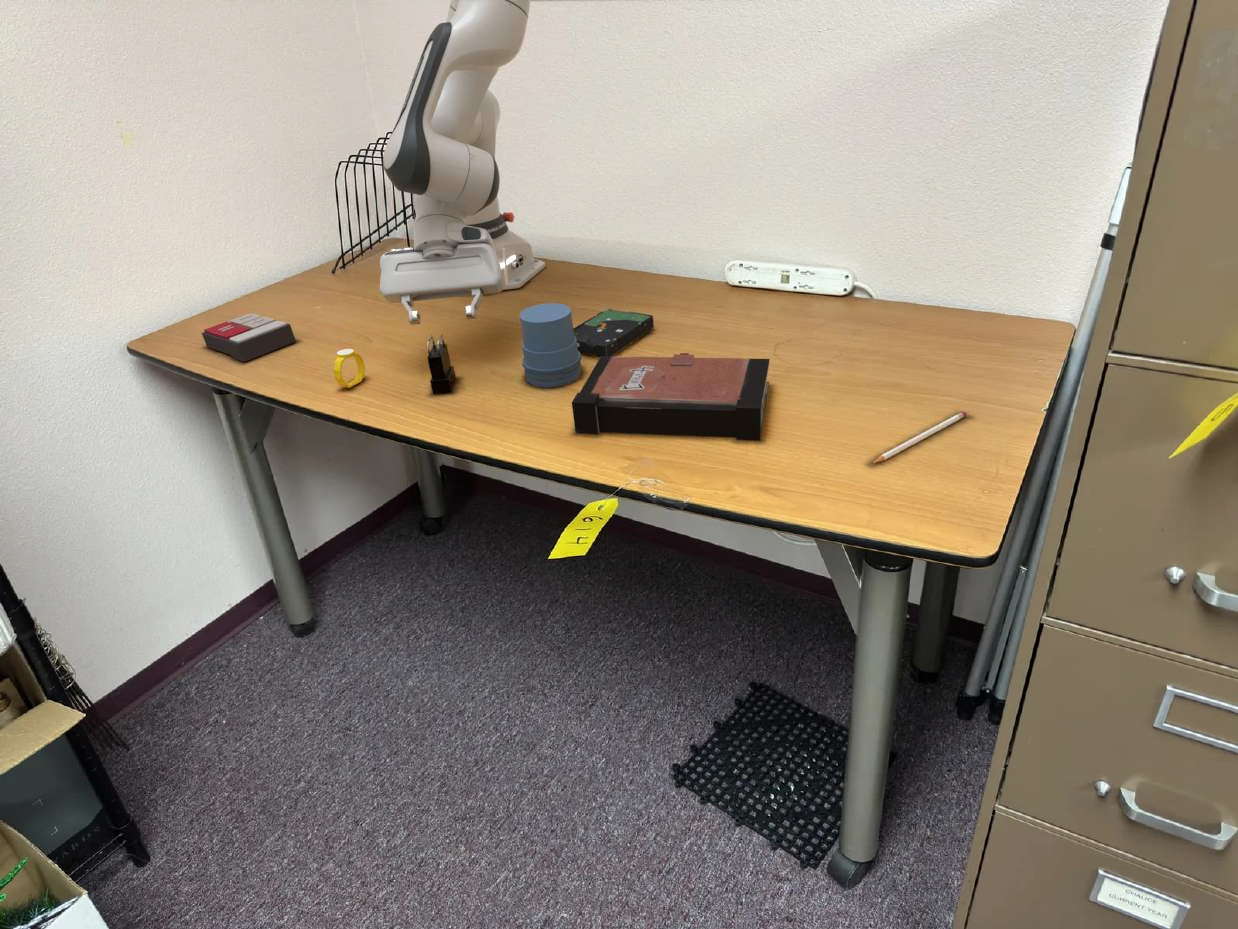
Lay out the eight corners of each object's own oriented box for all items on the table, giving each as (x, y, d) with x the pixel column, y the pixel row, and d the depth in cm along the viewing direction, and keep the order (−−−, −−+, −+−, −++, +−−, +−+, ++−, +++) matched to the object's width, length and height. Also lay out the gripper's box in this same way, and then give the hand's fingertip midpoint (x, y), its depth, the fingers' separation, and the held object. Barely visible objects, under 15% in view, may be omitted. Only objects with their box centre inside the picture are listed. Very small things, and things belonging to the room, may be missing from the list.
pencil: (966, 417, 112) (967, 412, 112) (875, 466, 104) (875, 461, 103) (961, 415, 113) (961, 410, 112) (870, 464, 104) (870, 459, 104)
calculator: (251, 310, 165) (289, 320, 155) (258, 330, 167) (296, 341, 158) (199, 329, 158) (235, 340, 149) (207, 350, 160) (243, 362, 151)
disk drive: (608, 361, 138) (655, 328, 148) (607, 346, 137) (654, 313, 147) (560, 351, 144) (608, 320, 154) (558, 336, 142) (606, 306, 152)
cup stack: (546, 359, 141) (537, 298, 135) (593, 368, 136) (586, 305, 130) (513, 383, 134) (502, 319, 128) (562, 392, 129) (553, 327, 123)
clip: (438, 380, 137) (428, 333, 133) (456, 379, 137) (446, 332, 132) (432, 394, 133) (422, 346, 128) (451, 393, 132) (440, 344, 128)
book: (769, 383, 126) (769, 353, 123) (760, 440, 111) (760, 408, 109) (604, 380, 132) (601, 351, 129) (575, 433, 117) (571, 402, 115)
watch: (348, 393, 136) (339, 360, 133) (335, 391, 137) (325, 358, 134) (371, 377, 140) (362, 345, 137) (358, 376, 141) (349, 344, 138)
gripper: (373, 240, 135) (373, 318, 132) (496, 228, 134) (499, 306, 131) (386, 259, 141) (386, 333, 138) (503, 247, 140) (507, 322, 137)
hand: (442, 320), depth 134 cm, fingers open, 8 cm apart
